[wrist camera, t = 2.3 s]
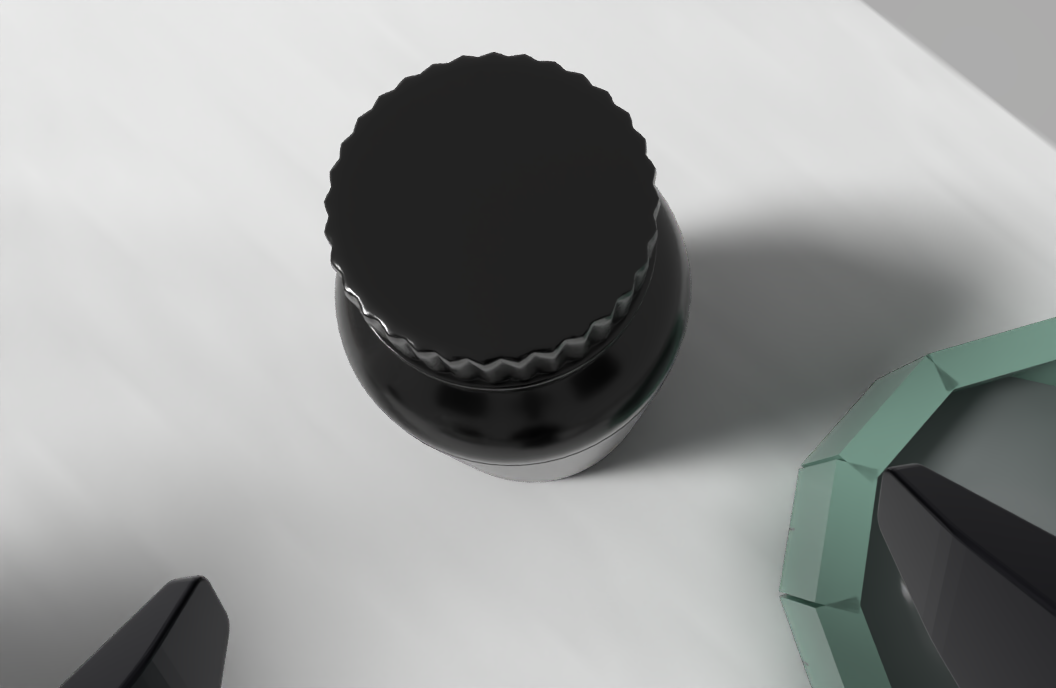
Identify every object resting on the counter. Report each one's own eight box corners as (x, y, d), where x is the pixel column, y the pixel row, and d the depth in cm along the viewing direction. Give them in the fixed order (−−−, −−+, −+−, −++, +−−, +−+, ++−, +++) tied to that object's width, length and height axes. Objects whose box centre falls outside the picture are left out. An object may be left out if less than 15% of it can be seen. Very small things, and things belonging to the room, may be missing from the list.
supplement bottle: (376, 363, 22) (152, 177, 10) (543, 223, 23) (511, -96, 11) (523, 538, 20) (455, 551, 9) (697, 381, 21) (846, 201, 10)
